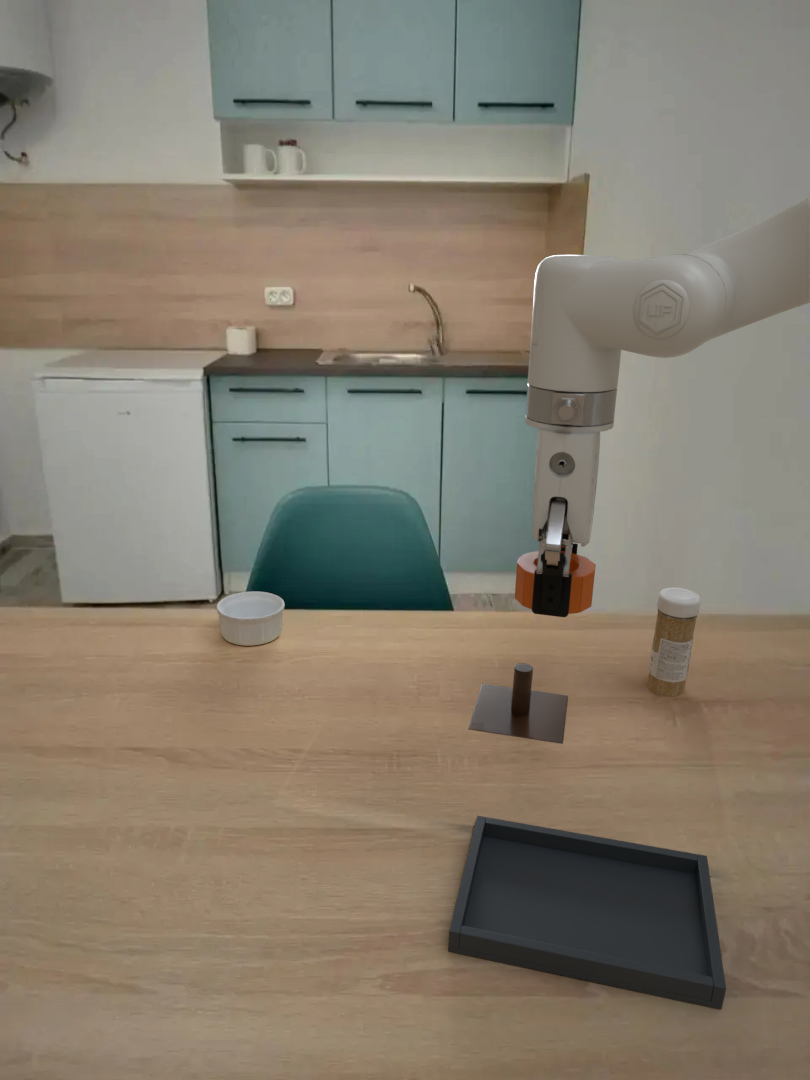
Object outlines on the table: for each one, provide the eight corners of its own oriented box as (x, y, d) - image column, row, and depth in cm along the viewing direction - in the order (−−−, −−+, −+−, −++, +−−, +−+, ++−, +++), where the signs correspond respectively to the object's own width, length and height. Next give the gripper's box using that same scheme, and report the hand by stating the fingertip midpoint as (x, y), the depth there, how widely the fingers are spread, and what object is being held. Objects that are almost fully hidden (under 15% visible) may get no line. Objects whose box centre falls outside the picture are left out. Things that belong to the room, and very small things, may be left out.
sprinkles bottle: (648, 684, 101) (663, 583, 96) (687, 694, 99) (704, 591, 94) (640, 702, 97) (655, 597, 92) (680, 712, 95) (698, 605, 90)
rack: (567, 706, 96) (572, 652, 93) (561, 755, 86) (568, 697, 84) (481, 694, 98) (484, 640, 95) (467, 741, 88) (470, 683, 86)
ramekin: (221, 619, 114) (219, 591, 113) (286, 618, 115) (285, 589, 114) (214, 650, 106) (212, 619, 105) (284, 648, 107) (283, 617, 106)
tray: (703, 874, 71) (706, 855, 70) (721, 1009, 58) (726, 988, 58) (476, 833, 75) (477, 815, 74) (447, 951, 62) (449, 931, 62)
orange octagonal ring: (593, 588, 80) (596, 554, 78) (589, 618, 73) (593, 582, 72) (520, 580, 81) (522, 546, 80) (510, 609, 75) (513, 573, 74)
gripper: (612, 431, 62) (590, 643, 68) (616, 393, 78) (598, 568, 84) (512, 424, 64) (499, 632, 70) (536, 388, 80) (524, 560, 86)
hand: (553, 595), depth 77 cm, fingers closed on orange octagonal ring, 7 cm apart
